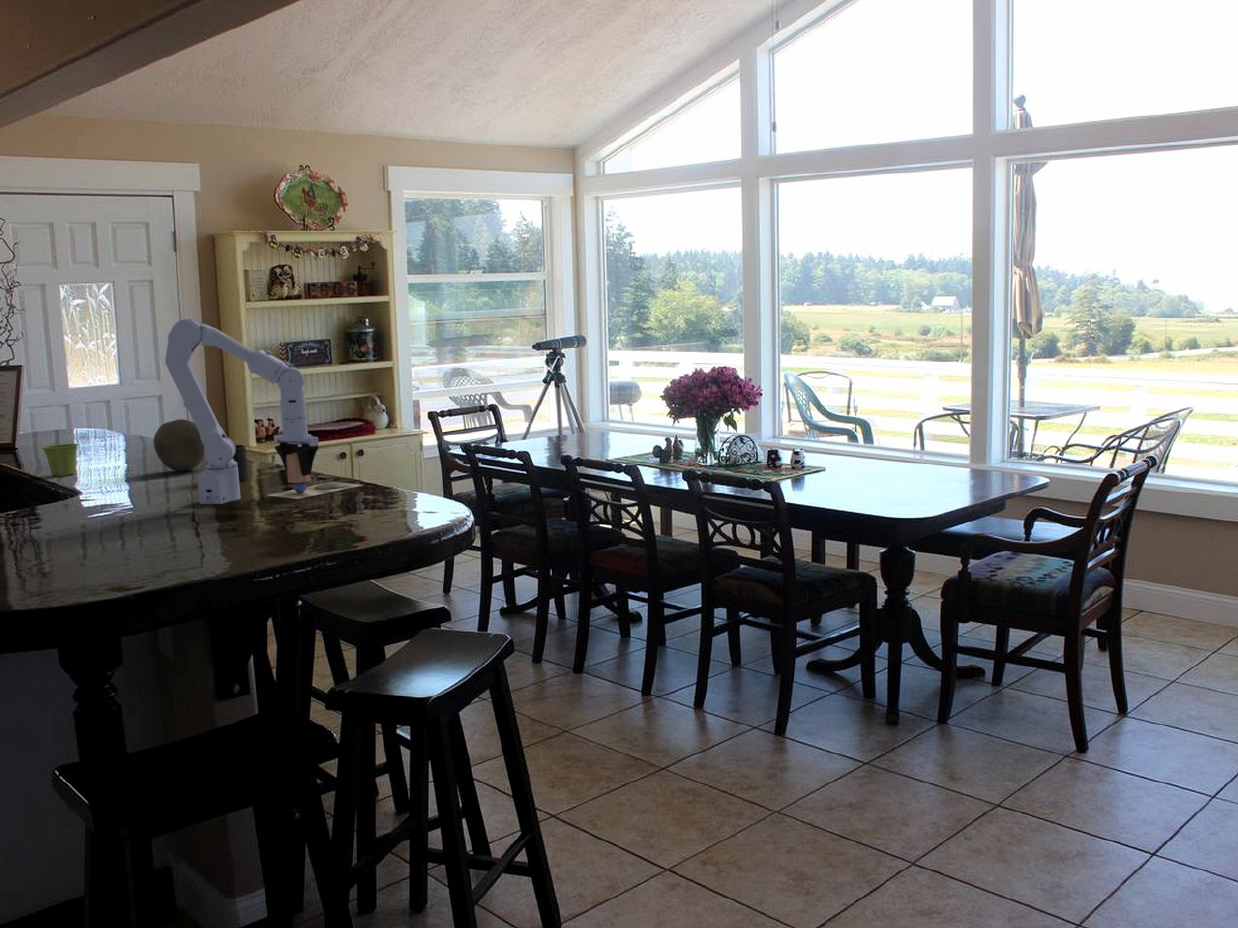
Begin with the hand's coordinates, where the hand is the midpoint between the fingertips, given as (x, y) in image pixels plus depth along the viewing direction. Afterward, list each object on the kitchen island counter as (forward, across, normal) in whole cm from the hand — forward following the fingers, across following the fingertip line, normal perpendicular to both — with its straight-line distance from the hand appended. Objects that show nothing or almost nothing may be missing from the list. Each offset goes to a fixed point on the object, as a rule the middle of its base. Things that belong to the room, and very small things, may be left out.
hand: (298, 474), depth 281 cm
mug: (+6, +43, -9) cm, 44 cm away
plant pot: (+6, +102, +6) cm, 102 cm away
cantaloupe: (+6, +70, -13) cm, 72 cm away
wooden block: (+2, 0, 0) cm, 2 cm away
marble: (+3, 0, 0) cm, 3 cm away
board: (+6, 0, -5) cm, 7 cm away
